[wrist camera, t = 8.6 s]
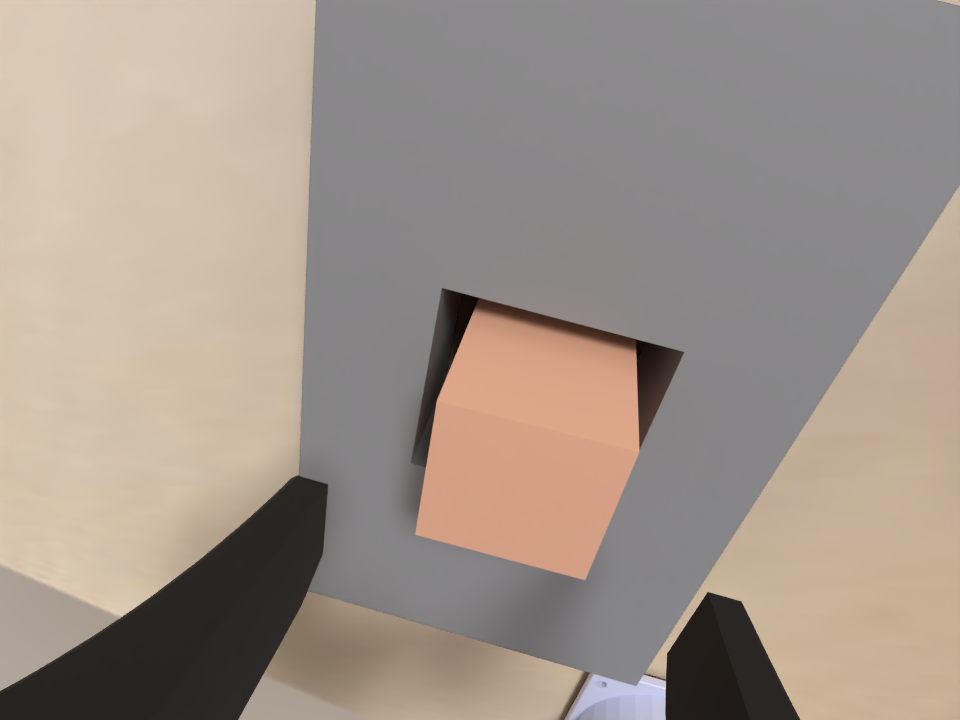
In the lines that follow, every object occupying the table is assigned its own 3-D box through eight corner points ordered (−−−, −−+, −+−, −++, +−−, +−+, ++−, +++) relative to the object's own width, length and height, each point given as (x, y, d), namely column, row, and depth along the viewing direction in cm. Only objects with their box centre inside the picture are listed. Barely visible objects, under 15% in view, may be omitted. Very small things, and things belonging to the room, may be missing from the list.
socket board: (634, 586, 24) (636, 686, 21) (338, 502, 25) (295, 587, 22) (950, 8, 13) (1060, 28, 10) (393, -122, 14) (320, -143, 10)
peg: (595, 398, 20) (585, 580, 14) (473, 367, 20) (414, 534, 15) (634, 288, 18) (639, 452, 12) (496, 255, 18) (437, 400, 12)
